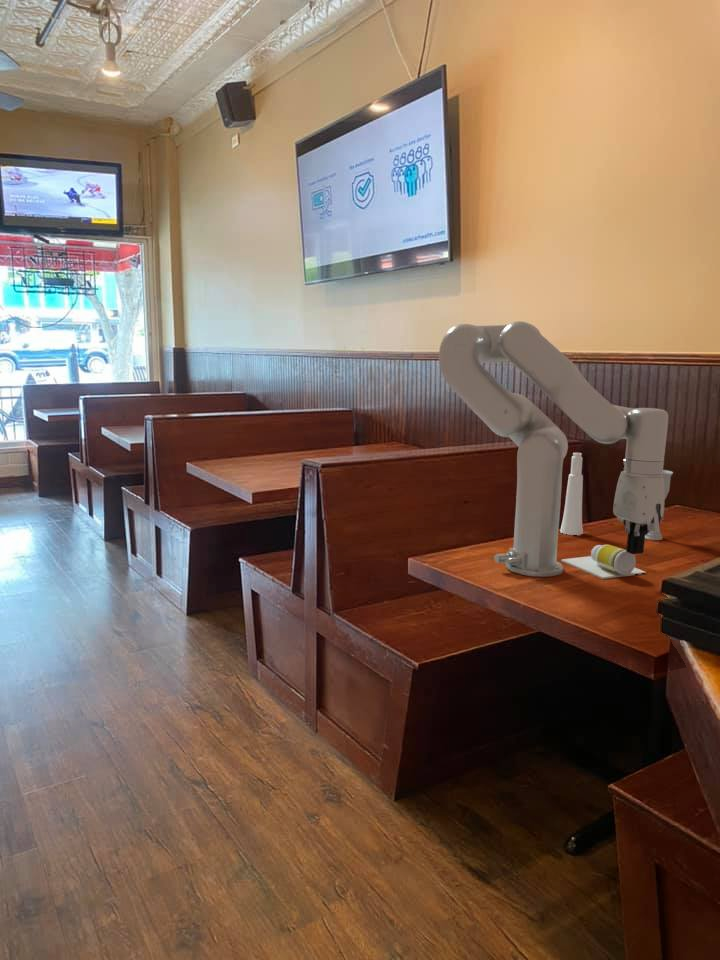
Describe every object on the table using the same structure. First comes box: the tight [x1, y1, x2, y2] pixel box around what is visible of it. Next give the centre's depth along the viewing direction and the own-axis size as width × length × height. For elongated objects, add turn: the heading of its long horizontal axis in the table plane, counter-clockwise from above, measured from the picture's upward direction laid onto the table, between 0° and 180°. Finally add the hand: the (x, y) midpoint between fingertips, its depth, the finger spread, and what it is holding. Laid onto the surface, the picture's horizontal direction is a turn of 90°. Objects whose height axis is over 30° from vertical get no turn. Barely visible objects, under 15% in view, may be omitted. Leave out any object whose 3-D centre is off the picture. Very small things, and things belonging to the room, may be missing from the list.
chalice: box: [645, 469, 674, 541], centre depth 186 cm, size 7×7×18 cm
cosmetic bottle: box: [559, 452, 584, 536], centre depth 188 cm, size 6×6×22 cm
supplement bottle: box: [590, 544, 637, 575], centre depth 156 cm, size 5×5×10 cm
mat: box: [560, 555, 646, 580], centre depth 160 cm, size 12×14×1 cm
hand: (634, 552), depth 149 cm, fingers closed
